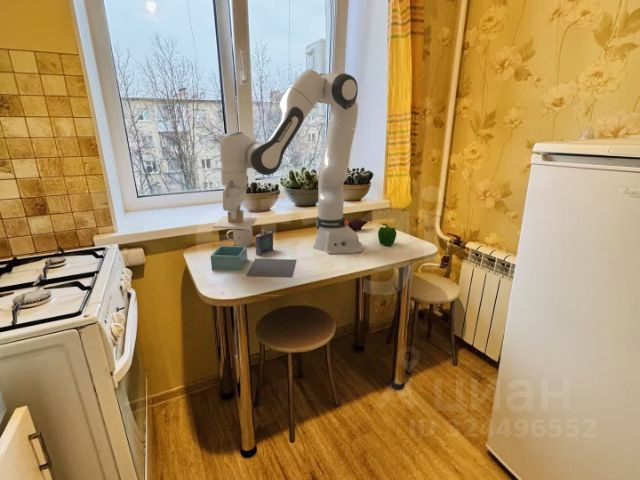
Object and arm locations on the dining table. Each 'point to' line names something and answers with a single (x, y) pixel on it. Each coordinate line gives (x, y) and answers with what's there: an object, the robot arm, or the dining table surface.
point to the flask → (264, 242)
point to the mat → (272, 268)
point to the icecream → (356, 224)
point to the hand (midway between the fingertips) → (235, 216)
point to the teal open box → (229, 258)
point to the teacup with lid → (241, 237)
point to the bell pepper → (386, 235)
